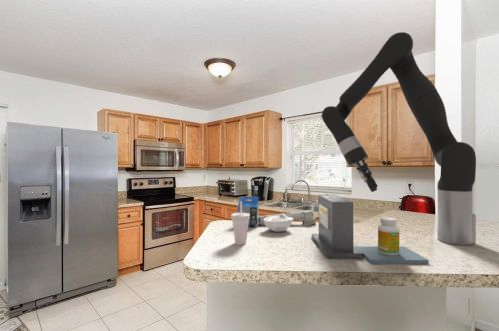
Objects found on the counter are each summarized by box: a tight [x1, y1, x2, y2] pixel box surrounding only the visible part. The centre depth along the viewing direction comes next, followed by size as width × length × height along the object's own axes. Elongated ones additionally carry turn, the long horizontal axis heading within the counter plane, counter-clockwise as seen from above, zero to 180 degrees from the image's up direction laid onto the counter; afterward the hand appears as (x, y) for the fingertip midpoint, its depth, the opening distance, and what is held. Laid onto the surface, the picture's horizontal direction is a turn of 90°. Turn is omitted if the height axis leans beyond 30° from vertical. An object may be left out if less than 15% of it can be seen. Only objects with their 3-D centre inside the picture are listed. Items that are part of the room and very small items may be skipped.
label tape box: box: [236, 196, 260, 228], centre depth 110 cm, size 9×4×12 cm, turn 77°
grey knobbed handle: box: [258, 209, 317, 226], centre depth 112 cm, size 5×7×25 cm
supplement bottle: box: [377, 216, 400, 255], centre depth 73 cm, size 5×5×10 cm
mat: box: [354, 245, 430, 265], centre depth 73 cm, size 15×11×1 cm
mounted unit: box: [311, 194, 364, 260], centre depth 81 cm, size 10×20×16 cm, turn 179°
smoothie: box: [230, 201, 250, 246], centre depth 86 cm, size 6×6×14 cm
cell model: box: [264, 212, 293, 233], centre depth 102 cm, size 10×12×7 cm
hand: (374, 189), depth 92 cm, fingers open, 8 cm apart
